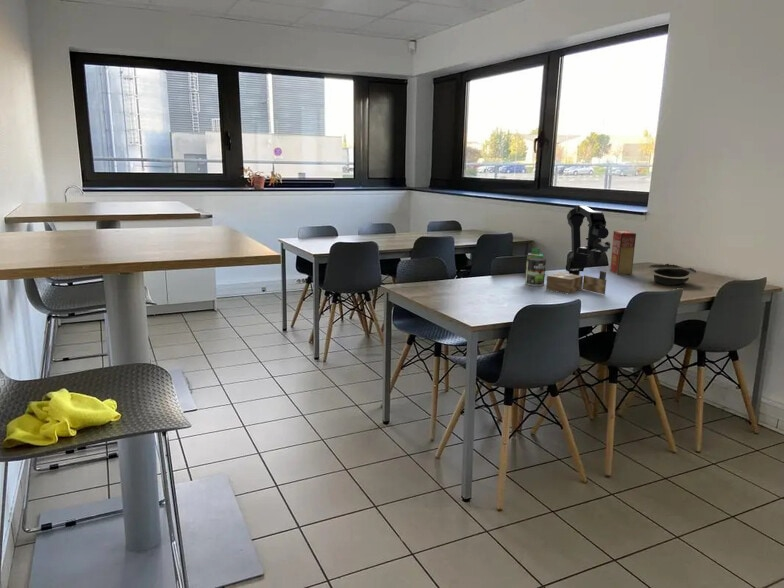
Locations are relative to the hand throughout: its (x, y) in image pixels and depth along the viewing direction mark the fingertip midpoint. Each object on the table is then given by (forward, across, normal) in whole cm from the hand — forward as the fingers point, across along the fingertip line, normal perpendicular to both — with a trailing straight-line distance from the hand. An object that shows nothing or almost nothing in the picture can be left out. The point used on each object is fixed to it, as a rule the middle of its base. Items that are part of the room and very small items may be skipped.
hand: (590, 265), depth 300 cm
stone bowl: (+13, +54, -16) cm, 57 cm away
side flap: (+13, -3, -5) cm, 14 cm away
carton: (+13, -11, +7) cm, 19 cm away
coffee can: (+13, -14, +25) cm, 31 cm away
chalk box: (+13, +10, +46) cm, 49 cm away
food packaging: (+13, +57, +17) cm, 61 cm away
